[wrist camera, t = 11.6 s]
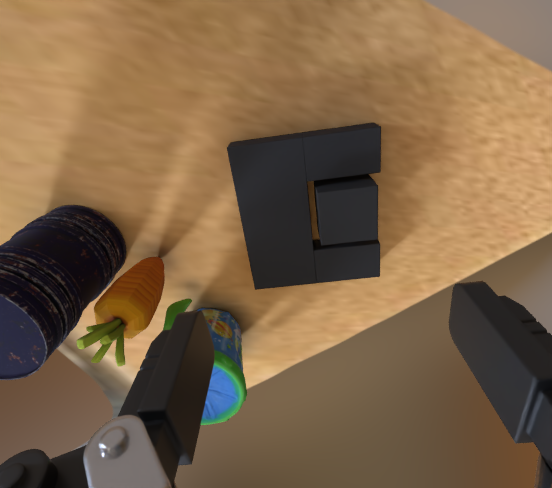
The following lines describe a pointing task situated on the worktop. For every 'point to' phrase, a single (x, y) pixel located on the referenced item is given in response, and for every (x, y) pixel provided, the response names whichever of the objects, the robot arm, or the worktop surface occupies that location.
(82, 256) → the dark blue oil drum
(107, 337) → the carrot
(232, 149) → the base pad
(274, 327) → the worktop surface
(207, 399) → the snack cup
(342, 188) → the small block
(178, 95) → the worktop surface
